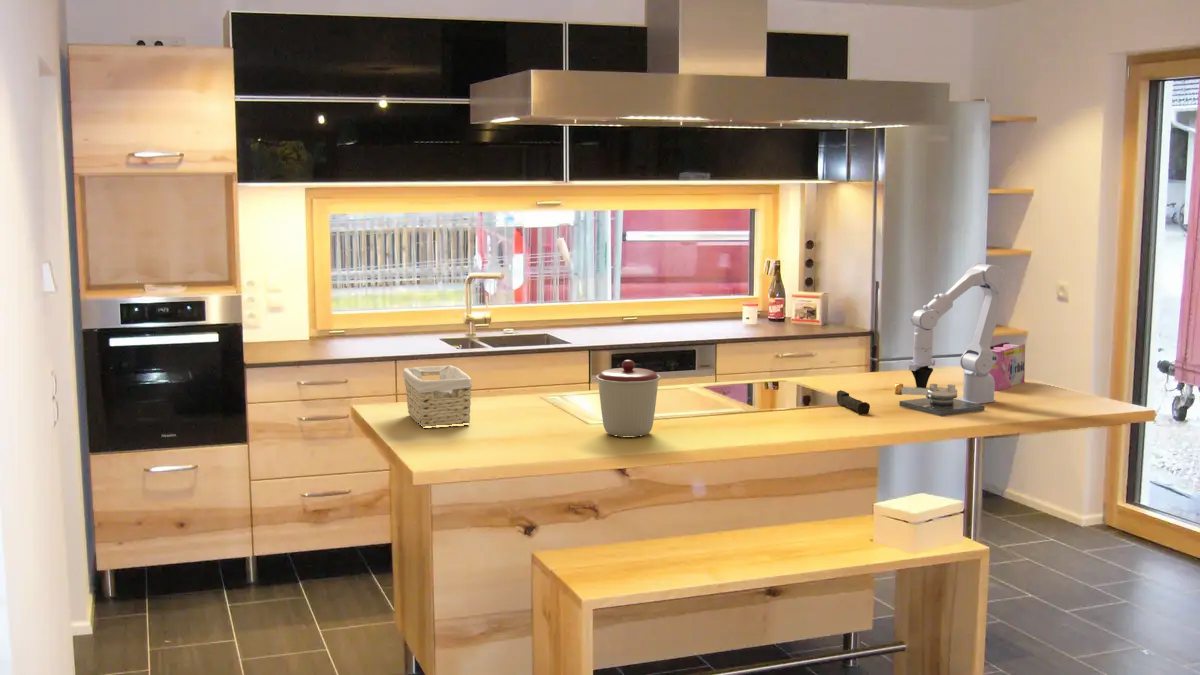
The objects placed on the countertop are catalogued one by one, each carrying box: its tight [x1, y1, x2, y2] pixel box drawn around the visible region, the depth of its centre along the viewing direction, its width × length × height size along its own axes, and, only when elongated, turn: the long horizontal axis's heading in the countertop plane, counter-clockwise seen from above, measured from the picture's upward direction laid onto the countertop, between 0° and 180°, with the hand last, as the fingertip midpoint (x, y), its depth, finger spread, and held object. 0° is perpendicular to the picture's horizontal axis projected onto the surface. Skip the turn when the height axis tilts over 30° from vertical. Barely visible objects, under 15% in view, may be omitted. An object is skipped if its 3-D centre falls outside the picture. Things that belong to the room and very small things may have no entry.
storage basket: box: [402, 364, 473, 428], centre depth 345 cm, size 24×16×15 cm
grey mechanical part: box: [894, 383, 958, 399], centre depth 365 cm, size 19×9×4 cm, turn 73°
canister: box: [595, 359, 662, 437], centre depth 327 cm, size 18×18×21 cm
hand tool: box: [836, 389, 871, 415], centre depth 364 cm, size 19×4×5 cm, turn 11°
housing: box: [898, 397, 986, 417], centre depth 364 cm, size 18×18×4 cm
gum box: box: [989, 341, 1026, 392], centre depth 403 cm, size 24×8×14 cm, turn 138°
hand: (921, 390), depth 370 cm, fingers closed
